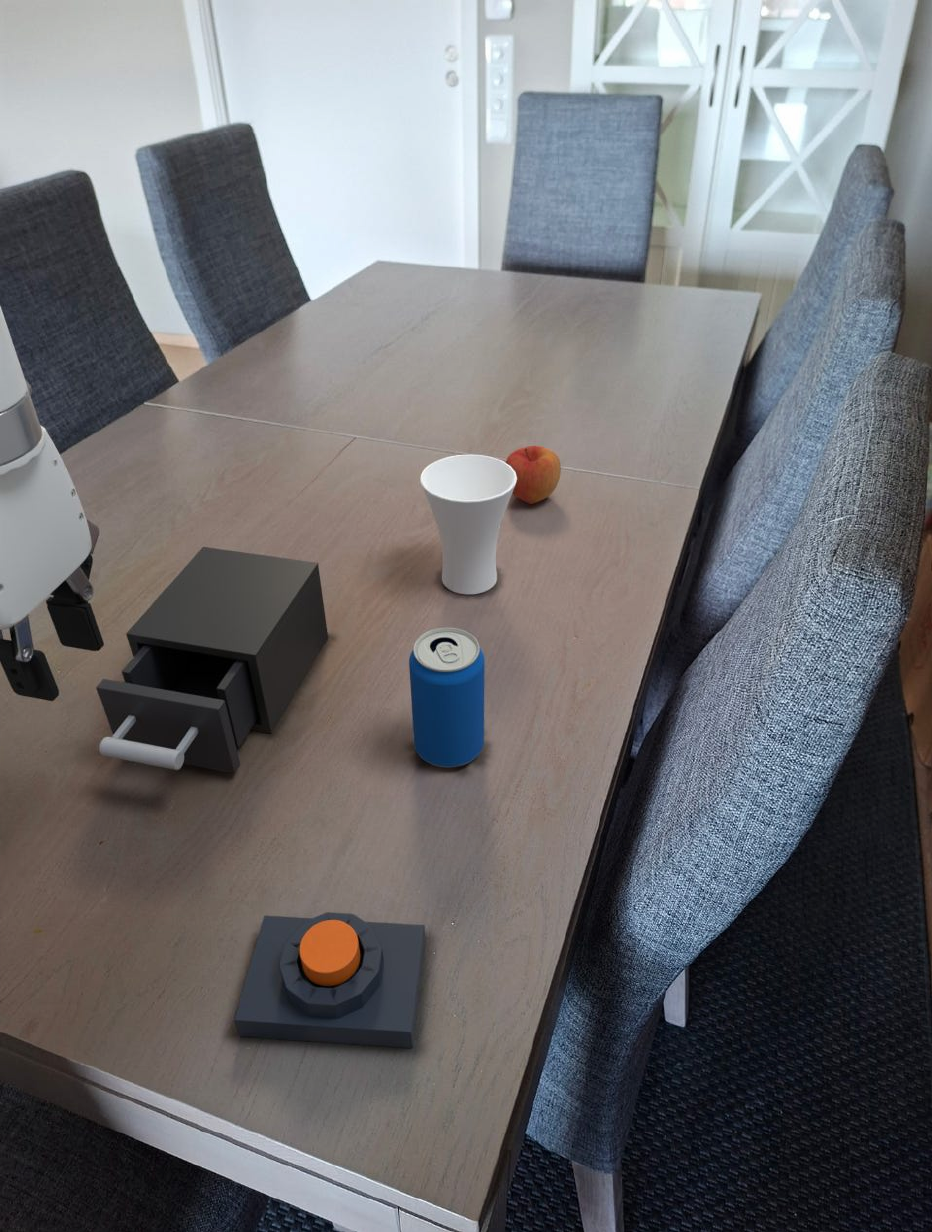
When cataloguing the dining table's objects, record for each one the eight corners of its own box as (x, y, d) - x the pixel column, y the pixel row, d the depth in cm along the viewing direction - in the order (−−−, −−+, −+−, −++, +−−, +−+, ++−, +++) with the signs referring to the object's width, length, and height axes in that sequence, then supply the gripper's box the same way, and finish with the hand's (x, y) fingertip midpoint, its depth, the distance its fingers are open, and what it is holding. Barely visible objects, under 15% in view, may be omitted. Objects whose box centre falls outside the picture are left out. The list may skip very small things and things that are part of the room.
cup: (530, 571, 104) (534, 469, 95) (483, 616, 97) (483, 511, 88) (457, 545, 108) (455, 445, 100) (407, 586, 101) (400, 484, 93)
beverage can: (468, 715, 85) (468, 617, 77) (494, 761, 80) (496, 662, 72) (405, 732, 83) (398, 634, 75) (427, 781, 78) (422, 681, 71)
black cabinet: (271, 733, 83) (255, 655, 77) (150, 711, 85) (125, 633, 79) (328, 637, 94) (318, 562, 88) (220, 620, 97) (202, 546, 91)
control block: (239, 1036, 60) (229, 1006, 57) (268, 932, 66) (260, 900, 64) (412, 1048, 59) (410, 1018, 57) (425, 941, 66) (423, 910, 63)
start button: (296, 984, 59) (293, 971, 58) (309, 931, 62) (306, 917, 61) (355, 988, 59) (352, 974, 58) (364, 935, 62) (362, 921, 61)
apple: (569, 496, 117) (573, 442, 112) (537, 518, 113) (540, 463, 108) (525, 479, 121) (527, 426, 116) (493, 500, 117) (493, 446, 112)
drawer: (211, 811, 74) (192, 747, 69) (91, 787, 77) (64, 722, 72) (295, 674, 88) (284, 612, 83) (190, 657, 90) (174, 595, 85)
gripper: (7, 369, 57) (84, 593, 68) (-209, 495, 44) (-71, 746, 55) (108, 379, 56) (170, 606, 67) (-84, 513, 43) (32, 767, 54)
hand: (60, 667), depth 61 cm, fingers open, 4 cm apart
